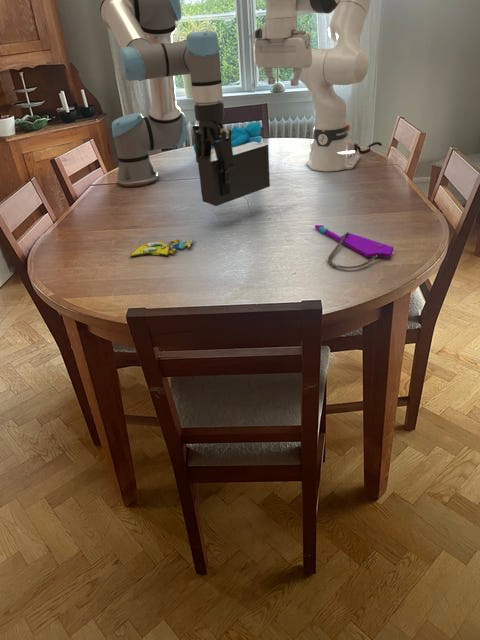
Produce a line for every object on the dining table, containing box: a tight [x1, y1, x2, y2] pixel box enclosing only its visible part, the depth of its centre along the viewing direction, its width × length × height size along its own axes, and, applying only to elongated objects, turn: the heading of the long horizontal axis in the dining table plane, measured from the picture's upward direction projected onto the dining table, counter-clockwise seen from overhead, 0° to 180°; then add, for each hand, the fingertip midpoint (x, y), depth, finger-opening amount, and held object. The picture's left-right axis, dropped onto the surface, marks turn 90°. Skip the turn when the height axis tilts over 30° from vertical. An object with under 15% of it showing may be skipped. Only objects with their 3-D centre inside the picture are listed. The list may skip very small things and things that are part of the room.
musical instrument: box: [314, 224, 394, 269], centre depth 119 cm, size 24×2×20 cm
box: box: [197, 142, 271, 207], centre depth 136 cm, size 20×6×12 cm, turn 131°
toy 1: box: [130, 238, 194, 258], centre depth 128 cm, size 10×1×15 cm
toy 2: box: [192, 121, 263, 154], centre depth 205 cm, size 17×11×30 cm
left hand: (217, 191), depth 134 cm, fingers closed on box, 6 cm apart
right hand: (282, 85), depth 141 cm, fingers open, 8 cm apart
